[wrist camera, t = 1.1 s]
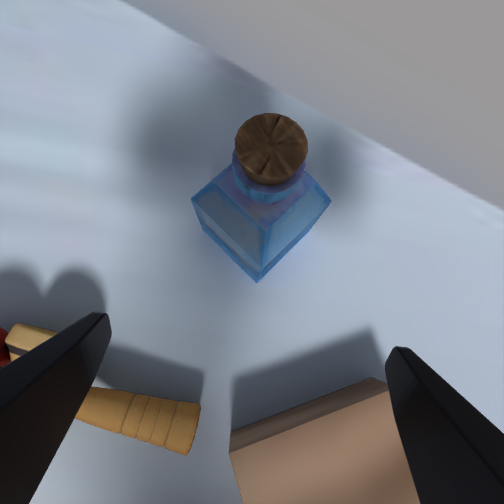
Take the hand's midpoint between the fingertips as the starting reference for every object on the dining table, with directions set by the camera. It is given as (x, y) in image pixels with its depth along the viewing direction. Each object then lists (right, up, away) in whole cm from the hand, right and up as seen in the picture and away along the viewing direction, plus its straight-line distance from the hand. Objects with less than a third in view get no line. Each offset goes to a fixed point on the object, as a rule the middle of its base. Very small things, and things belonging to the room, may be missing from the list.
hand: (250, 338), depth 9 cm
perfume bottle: (0, +4, +15) cm, 16 cm away
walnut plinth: (+5, -13, +11) cm, 18 cm away
